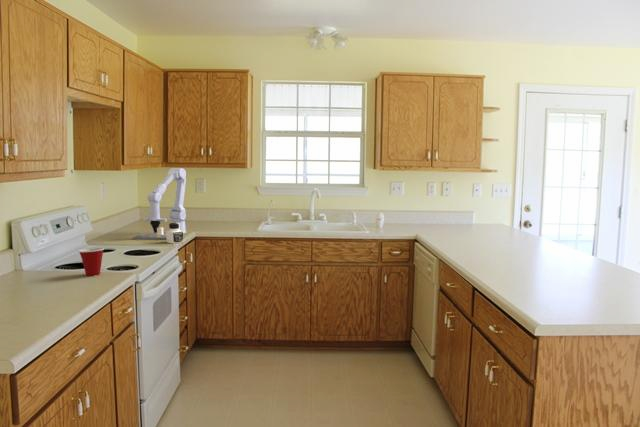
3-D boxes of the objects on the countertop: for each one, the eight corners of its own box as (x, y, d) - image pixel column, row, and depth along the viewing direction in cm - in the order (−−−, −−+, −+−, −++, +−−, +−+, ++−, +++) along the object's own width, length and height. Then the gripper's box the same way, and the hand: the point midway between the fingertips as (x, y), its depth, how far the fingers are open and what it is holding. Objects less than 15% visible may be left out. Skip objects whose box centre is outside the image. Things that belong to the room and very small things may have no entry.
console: (142, 235, 337) (142, 231, 336) (175, 236, 334) (175, 232, 334) (133, 239, 323) (133, 235, 322) (166, 240, 321) (166, 236, 320)
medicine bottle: (173, 243, 308) (173, 224, 306) (166, 242, 312) (165, 223, 311) (183, 242, 314) (182, 222, 312) (176, 240, 318) (175, 221, 316)
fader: (159, 235, 330) (158, 227, 329) (163, 235, 329) (163, 227, 329) (157, 235, 327) (156, 227, 326) (161, 235, 326) (161, 227, 326)
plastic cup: (97, 270, 239) (96, 245, 238) (110, 274, 233) (109, 248, 231) (74, 275, 230) (73, 249, 229) (87, 278, 224) (86, 251, 223)
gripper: (141, 212, 323) (142, 233, 325) (163, 212, 322) (164, 233, 323) (146, 210, 330) (146, 231, 332) (167, 211, 329) (168, 232, 330)
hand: (155, 232), depth 328 cm, fingers closed
